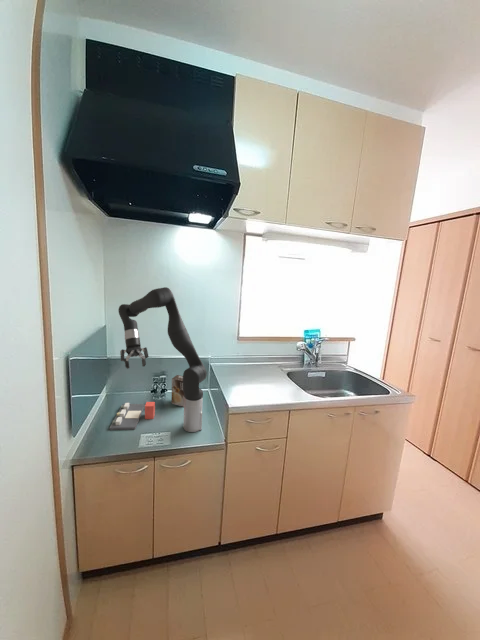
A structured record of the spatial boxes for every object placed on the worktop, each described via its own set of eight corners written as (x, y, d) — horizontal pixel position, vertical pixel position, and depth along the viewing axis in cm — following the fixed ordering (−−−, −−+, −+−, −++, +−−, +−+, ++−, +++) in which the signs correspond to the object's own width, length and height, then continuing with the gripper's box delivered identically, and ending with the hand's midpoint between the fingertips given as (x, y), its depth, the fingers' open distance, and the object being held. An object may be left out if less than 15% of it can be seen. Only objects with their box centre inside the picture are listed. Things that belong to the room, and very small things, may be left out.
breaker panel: (144, 405, 152) (144, 400, 151) (135, 429, 131) (135, 423, 130) (122, 406, 150) (122, 400, 149) (109, 429, 129) (109, 424, 128)
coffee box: (189, 402, 159) (190, 377, 156) (184, 407, 153) (185, 381, 150) (176, 398, 162) (177, 374, 159) (170, 403, 156) (171, 378, 153)
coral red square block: (154, 414, 145) (154, 401, 143) (153, 418, 140) (153, 406, 139) (146, 414, 144) (146, 401, 142) (144, 419, 140) (144, 406, 138)
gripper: (121, 337, 139) (124, 368, 136) (147, 336, 149) (151, 364, 145) (116, 341, 144) (120, 370, 141) (142, 339, 154) (146, 366, 151)
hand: (136, 367), depth 143 cm, fingers open, 8 cm apart
